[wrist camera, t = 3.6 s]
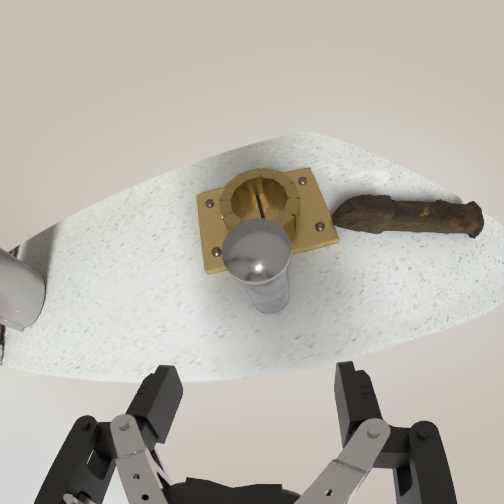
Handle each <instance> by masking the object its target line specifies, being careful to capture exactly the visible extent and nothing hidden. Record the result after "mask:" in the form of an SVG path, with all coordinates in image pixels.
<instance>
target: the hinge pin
mask: <svg viewBox="0 0 504 504" xmlns="http://www.w3.org/2000/svg"><path fill="white" fill-rule="evenodd" d="M222 259H223V262H224V265H225V266H226V268H227V270H228V271H229V273H230V274H231V275H232V276H233V277H234V278H235V279H237V280H238V281H240V282H242V284H243V286H244V287H245V289H246V291H247V293H248V295H249V296H250V298H251V300H252V302H253V303H254V305H255V307H256V308H257V309H258V310H259V311H261V312H263V313H266V314H274V313H277V312H279V311H281V310H282V309H284V307H285V306H286V305H287V303H288V300H289V288H288V277H287V267H288V265H289V262H290V259H291V242H290V238H289V236H288V234H287V232H286V231H285V230H284V229H283V228H282V227H281V226H280V225H279V224H277V223H275V222H274V221H271V220H268V219H262V218H255V219H249V220H246V221H243V222H241V223H239V224H238V225H236V226H235V227H234V228H232V229H231V230H230V231H229V233H228V234H227V236H226V237H225V239H224V241H223V245H222Z"/></svg>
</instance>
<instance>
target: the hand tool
mask: <svg viewBox="0 0 504 504" xmlns="http://www.w3.org/2000/svg"><path fill="white" fill-rule="evenodd" d="M332 221H333V224H334V225H336V226H338V227H341V228H345V229H349V230H354V231H363V232H368V233H373V234H380V233H382V232H383V231H410V232H419V233H420V232H435V233H446V234H449V233H466V234H469V237H471V238H476V236H478V235H479V234H480V232H481V231H482V229H483V226H484V219H483V215H482V209H481V208H480V207H479V206H478V205H477V204H476V203H475V202H474V201H472V202H469V203H467V204H452V203H448V202H446V201H442V200H441V199H440V200H437V201H435V202H420V201H395V200H391V197H390V196H386V195H378V196H372V195H360V196H356V197H352V198H351V199H349V200H346V201H345V202H344V203H343V204H342V205H341V206H340V207H339V208H338V209H337V210H336V211H335V212H334V213H333V215H332Z"/></svg>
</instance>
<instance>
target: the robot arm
mask: <svg viewBox="0 0 504 504" xmlns="http://www.w3.org/2000/svg"><path fill="white" fill-rule="evenodd" d="M44 296H45V284H44V279H43V276H42V275H41V273H39V272H38V271H36V270H35V269H33V268H32V267H30V266H28V265H26V264H25V263H23V262H22V261H20V260H19V259H17V258H15V257H14V256H12V255H11V254H9V253H8V252H6V251H5V250H3V249H2V248H0V324H2V325H5V326H8V327H10V328H13V329H16V330H19V331H22V330H23V329H24V328H25V327H28V326H30V325H32V324H33V323H34V322H35V320H36V319H37V317H38V316H39V314H40V311H41V309H42V306H43V302H44ZM334 391H335V399H336V405H337V412H338V418H339V424H340V431H341V438H342V446H343V448H344V449H343V450H342V452H341V453H340V454H339V456H338V457H337V458H336V459H335V460H333V461H331V462H330V463H329V464H328V466H327V467H326V468H325V469H324V471H323V472H322V473H321V474H320V475H319V477H318V478H317V479H316V480H315V481H314V482H313V484H312V485H311V486H310V487H309V488H308V489H307V490H306V491H305V492H304V493H303V494H302V495H299V494H298V493H295V492H292V491H289V490H285V489H282V484H255V485H249V486H242V487H235V488H231V487H227V486H224V485H221V484H218V483H215V482H212V481H209V480H202V479H195V478H189V477H187V478H186V482H182V483H176V484H173V482H172V481H171V479H170V478H169V476H168V474H167V472H166V470H165V468H164V466H163V464H162V462H161V460H160V457H159V455H158V453H157V451H156V449H155V444H156V442H157V443H162V444H164V443H165V440H166V438H167V435H168V432H169V430H170V427H171V425H172V422H173V419H174V417H175V414H176V411H177V409H178V406H179V404H180V401H181V398H182V395H183V387H182V384H181V381H180V379H179V376H178V373H177V371H176V368H175V367H174V366H170V365H159V366H158V368H157V370H156V371H155V373H154V374H152V373H151V374H150V375H148V376H147V377H146V378H145V379H144V380H143V382H142V384H141V386H140V388H139V389H138V391H137V394H136V395H135V397H134V399H133V400H132V402H131V404H130V406H129V408H128V410H127V412H126V413H125V414H123V415H119V416H117V417H115V418H114V419H113V420H112V422H97V421H96V420H95V418H94V417H92V416H89V415H87V416H82V417H80V418H79V419H77V420H76V422H75V424H74V425H73V427H72V429H71V431H70V432H69V435H68V436H67V438H66V440H65V442H64V444H63V445H62V447H61V449H60V451H59V453H58V455H57V457H56V458H55V460H54V463H53V464H52V466H51V468H50V470H49V472H48V474H47V476H46V478H45V480H44V482H43V485H42V487H41V489H40V491H39V493H38V495H37V498H36V499H35V502H34V504H102V502H103V499H104V496H105V493H106V491H107V488H108V486H109V483H110V480H111V477H112V474H113V472H114V470H115V467H116V466H117V469H118V472H119V475H120V479H121V482H122V485H123V488H124V490H125V493H126V496H127V498H128V501H129V504H348V502H349V501H350V500H351V498H352V497H353V495H354V494H355V493H356V491H357V490H358V488H359V487H360V486H361V484H362V483H363V481H364V480H365V478H366V477H367V475H368V474H369V472H370V471H371V469H372V468H373V467H375V468H391V469H393V476H394V484H395V491H396V501H397V504H457V500H456V495H455V491H454V486H453V481H452V478H451V473H450V469H449V465H448V462H447V458H446V454H445V451H444V447H443V444H442V441H441V438H440V434H439V431H438V428H437V427H436V425H434V424H433V423H432V422H429V421H419V422H417V423H415V424H414V425H413V426H412V427H411V428H402V427H393V426H391V425H389V424H387V423H386V422H385V421H384V420H383V418H382V416H381V412H380V409H379V405H378V402H377V399H376V395H375V393H374V389H373V386H372V382H371V379H370V377H369V375H368V374H367V373H366V372H365V371H364V370H359V371H355V368H354V365H353V362H352V361H347V362H339V363H337V364H336V374H335V384H334ZM92 451H93V453H92ZM91 453H92V455H91ZM90 455H91V457H90ZM89 457H90V460H89V462H88V459H89ZM87 462H88V464H87Z"/></svg>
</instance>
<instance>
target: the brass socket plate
mask: <svg viewBox="0 0 504 504" xmlns="http://www.w3.org/2000/svg"><path fill="white" fill-rule="evenodd" d="M243 175H244V176H243ZM243 175H241V174H239V175H238V176H237V177H235V178H234V179H233V180H231V181H230V182H229V183H227V184H228V186H225V187H224V188H221V189H217V190H213V191H209V192H206V193H202V194H199V195H196V196H197V206H198V216H199V225H200V234H201V243H202V251H203V259H204V267H205V272H206V273H207V274H212V273H217V272H221V271H225V270H227V268H226V266H225V265H224V262H223V259H222V245H223V241H224V239H225V237H226V236H227V234H228V233H229V231H230V230H231V229H232V228H234V227H235V226H236V225H238V224H239V223H241V222H243V221H246V220H249V219H255V218H261V215H260V211H259V207H258V204H257V200H256V196H255V195H256V194H259V198H260V202H261V206H262V209H263V213H264V217H265V219H268V220H271V221H274V222H275V223H277V224H279V225H280V226H281V227H282V228H283V229H284V230H285V231H286V232H287V234H288V236H289V238H290V242H291V254H296V253H300V252H304V251H308V250H312V249H316V248H320V247H324V246H328V245H332V244H336V243H338V241H339V237H338V234H337V232H336V229H335V227H334V224H333V221H332V219H331V216H330V214H329V211H328V209H327V206H326V204H325V202H324V199H323V197H322V194H321V192H320V190H319V187H318V185H317V183H316V180H315V178H314V176H313V173H312V171H311V169H310V168H306V169H301V170H296V171H291V172H287V173H282V172H281V173H279V171H275V170H269V169H262V170H261V172H260V169H256V170H252V171H247V172H243Z"/></svg>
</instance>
